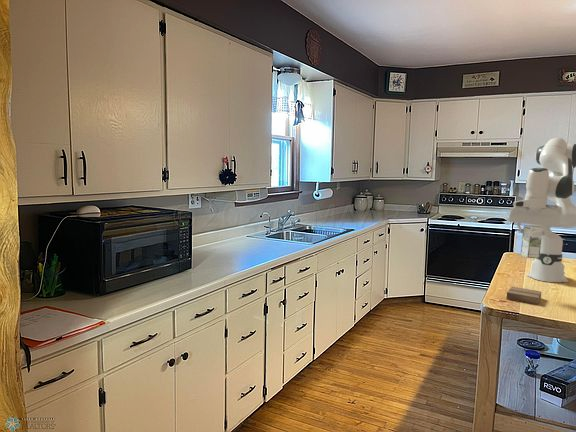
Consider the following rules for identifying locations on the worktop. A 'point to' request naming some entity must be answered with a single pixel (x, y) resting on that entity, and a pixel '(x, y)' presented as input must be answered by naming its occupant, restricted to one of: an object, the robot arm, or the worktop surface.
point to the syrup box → (531, 241)
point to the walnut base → (524, 295)
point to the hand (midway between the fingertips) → (532, 234)
